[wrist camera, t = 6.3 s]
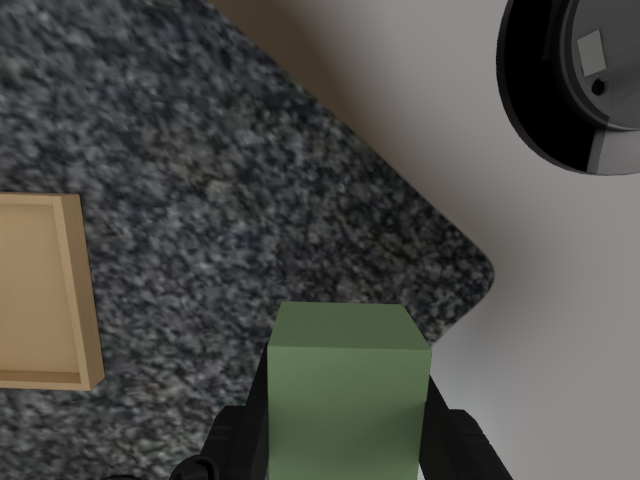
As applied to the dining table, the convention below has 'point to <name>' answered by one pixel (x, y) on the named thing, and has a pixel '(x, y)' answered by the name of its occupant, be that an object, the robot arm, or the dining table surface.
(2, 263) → the light wooden tray
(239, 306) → the dining table surface
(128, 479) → the milk frother
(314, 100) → the dining table surface
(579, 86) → the robot arm
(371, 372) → the green block
